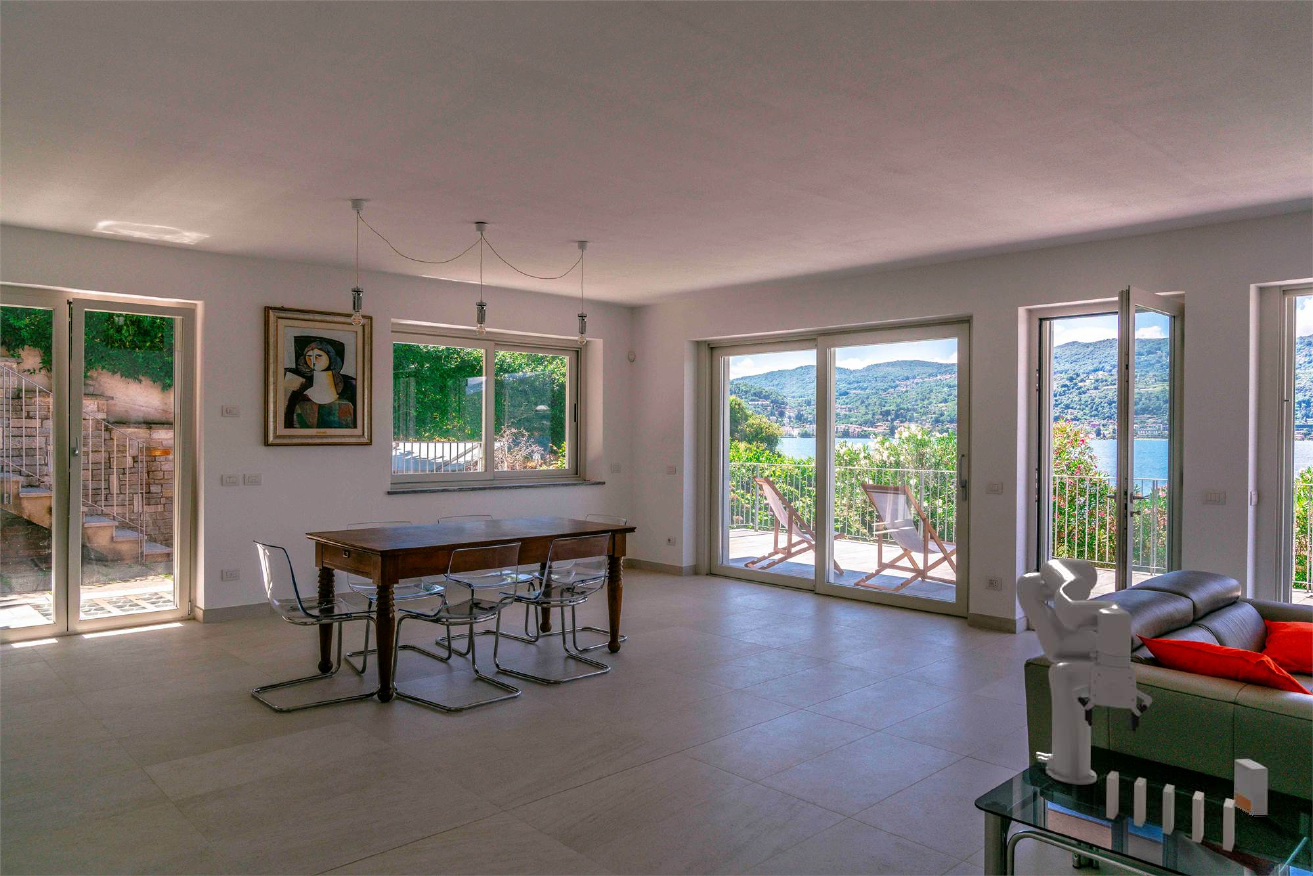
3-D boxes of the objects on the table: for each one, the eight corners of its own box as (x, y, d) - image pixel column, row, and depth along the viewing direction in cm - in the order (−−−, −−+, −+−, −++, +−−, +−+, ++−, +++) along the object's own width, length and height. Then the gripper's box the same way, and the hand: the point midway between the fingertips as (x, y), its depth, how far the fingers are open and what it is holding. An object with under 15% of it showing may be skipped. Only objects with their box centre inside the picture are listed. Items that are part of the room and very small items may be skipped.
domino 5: (1223, 849, 192) (1223, 806, 192) (1225, 840, 196) (1226, 798, 196) (1231, 851, 191) (1232, 808, 191) (1234, 843, 195) (1234, 800, 195)
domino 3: (1173, 826, 203) (1174, 785, 203) (1170, 834, 199) (1170, 793, 199) (1166, 824, 204) (1166, 784, 204) (1162, 832, 200) (1163, 791, 200)
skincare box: (1233, 805, 214) (1233, 759, 213) (1248, 805, 214) (1249, 758, 214) (1252, 817, 208) (1252, 769, 207) (1268, 816, 208) (1268, 768, 208)
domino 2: (1133, 825, 204) (1134, 784, 204) (1138, 817, 208) (1138, 777, 207) (1141, 827, 203) (1141, 785, 203) (1145, 819, 207) (1146, 779, 206)
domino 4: (1192, 840, 196) (1192, 798, 196) (1195, 832, 200) (1196, 791, 200) (1200, 843, 195) (1200, 800, 195) (1203, 834, 199) (1204, 792, 199)
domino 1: (1106, 817, 208) (1106, 777, 208) (1111, 810, 212) (1111, 770, 211) (1113, 819, 207) (1114, 779, 206) (1118, 812, 211) (1118, 772, 210)
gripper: (1075, 659, 208) (1074, 727, 209) (1156, 667, 202) (1153, 737, 203) (1072, 650, 215) (1071, 716, 216) (1150, 658, 209) (1148, 725, 210)
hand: (1111, 726), depth 209 cm, fingers open, 9 cm apart
